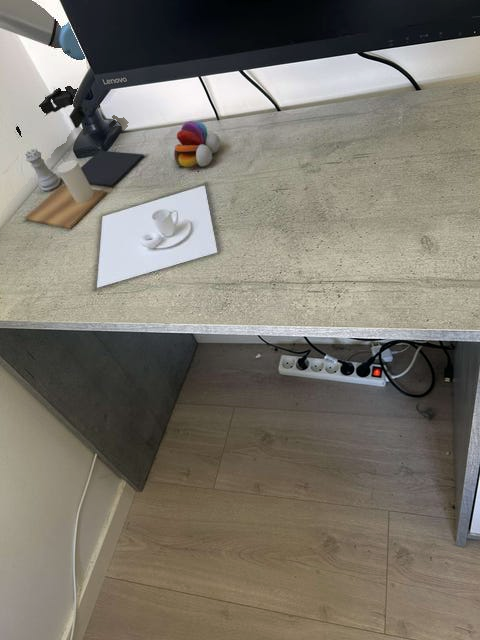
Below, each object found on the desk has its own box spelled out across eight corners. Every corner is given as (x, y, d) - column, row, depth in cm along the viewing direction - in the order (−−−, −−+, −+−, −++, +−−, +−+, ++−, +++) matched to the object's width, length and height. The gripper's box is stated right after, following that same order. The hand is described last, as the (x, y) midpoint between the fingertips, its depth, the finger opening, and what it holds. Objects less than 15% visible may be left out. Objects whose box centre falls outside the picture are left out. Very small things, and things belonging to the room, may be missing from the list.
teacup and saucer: (142, 256, 80) (132, 237, 77) (142, 228, 85) (133, 209, 82) (193, 241, 79) (185, 221, 76) (190, 214, 85) (182, 194, 82)
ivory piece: (71, 202, 96) (53, 171, 91) (84, 190, 98) (67, 159, 93) (85, 204, 95) (67, 173, 90) (98, 192, 97) (81, 160, 91)
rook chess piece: (38, 188, 105) (17, 155, 99) (56, 177, 107) (36, 144, 101) (47, 194, 102) (25, 160, 97) (64, 183, 104) (44, 149, 98)
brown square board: (26, 220, 97) (24, 217, 97) (62, 187, 103) (61, 185, 102) (70, 229, 91) (68, 226, 91) (106, 193, 96) (105, 191, 96)
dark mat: (68, 181, 104) (67, 179, 103) (100, 153, 109) (99, 150, 109) (112, 187, 97) (111, 185, 97) (144, 156, 103) (143, 154, 102)
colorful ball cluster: (169, 172, 96) (155, 138, 91) (190, 145, 101) (178, 111, 96) (206, 172, 92) (195, 137, 87) (226, 144, 98) (216, 109, 92)
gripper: (128, 88, 118) (106, 133, 104) (38, 109, 124) (6, 154, 110) (115, 56, 113) (89, 99, 99) (21, 80, 118) (-15, 123, 105)
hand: (45, 128), depth 104 cm, fingers open, 13 cm apart
